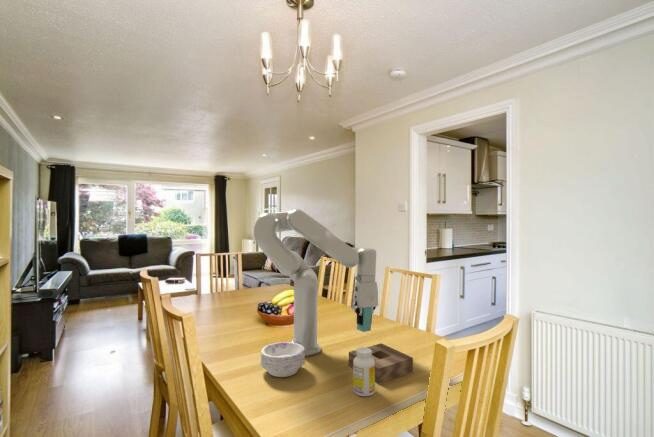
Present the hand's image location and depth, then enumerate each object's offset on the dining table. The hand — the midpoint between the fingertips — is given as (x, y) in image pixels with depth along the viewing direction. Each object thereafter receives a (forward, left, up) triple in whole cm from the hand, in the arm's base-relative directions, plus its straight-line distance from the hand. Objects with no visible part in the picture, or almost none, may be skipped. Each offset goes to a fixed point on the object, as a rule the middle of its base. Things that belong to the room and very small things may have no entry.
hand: (364, 323), depth 135 cm
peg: (0, 0, -3) cm, 3 cm away
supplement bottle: (-21, -25, -11) cm, 35 cm away
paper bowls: (-36, +1, -11) cm, 38 cm away
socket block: (-6, -16, -11) cm, 21 cm away
